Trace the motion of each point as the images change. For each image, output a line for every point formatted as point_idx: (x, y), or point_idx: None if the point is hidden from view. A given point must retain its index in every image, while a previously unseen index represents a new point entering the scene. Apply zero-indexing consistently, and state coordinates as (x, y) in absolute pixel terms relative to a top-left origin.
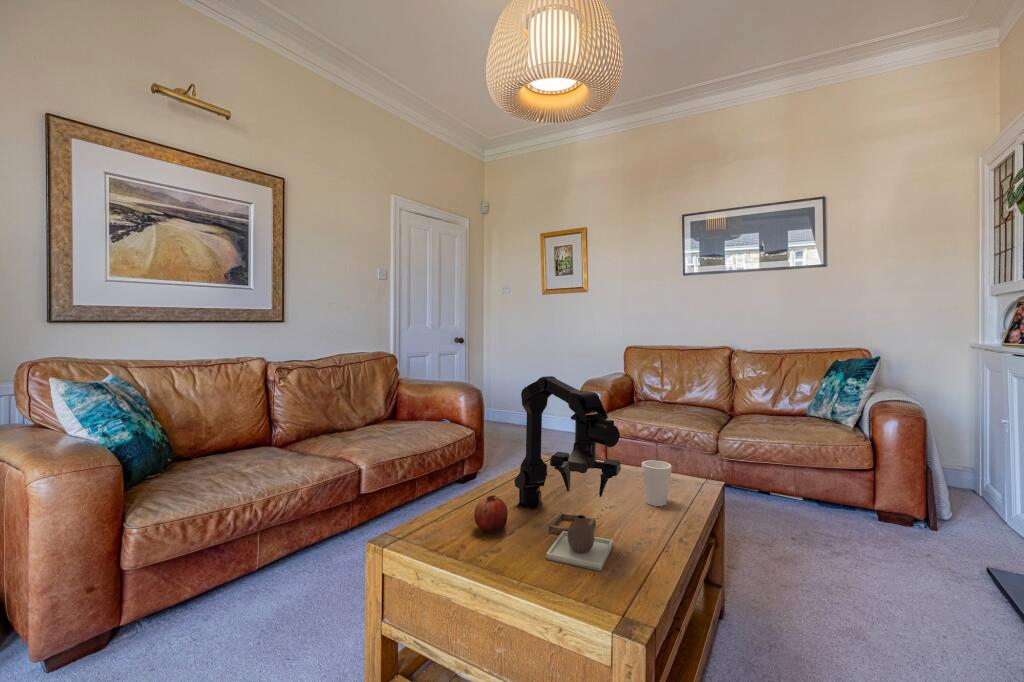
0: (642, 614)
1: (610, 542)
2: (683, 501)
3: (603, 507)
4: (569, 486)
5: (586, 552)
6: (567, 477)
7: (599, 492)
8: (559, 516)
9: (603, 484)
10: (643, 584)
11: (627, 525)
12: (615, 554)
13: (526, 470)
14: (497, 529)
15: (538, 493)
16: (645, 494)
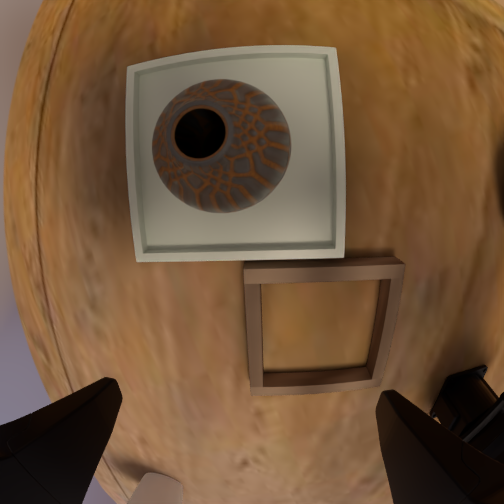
0: (52, 6)
1: (138, 240)
2: (128, 483)
3: (262, 459)
4: (385, 430)
5: (201, 135)
6: (434, 481)
7: (93, 396)
8: (379, 357)
9: (17, 424)
10: (44, 91)
11: (163, 397)
12: (121, 199)
13: None
14: None
15: (455, 418)
16: (180, 497)
